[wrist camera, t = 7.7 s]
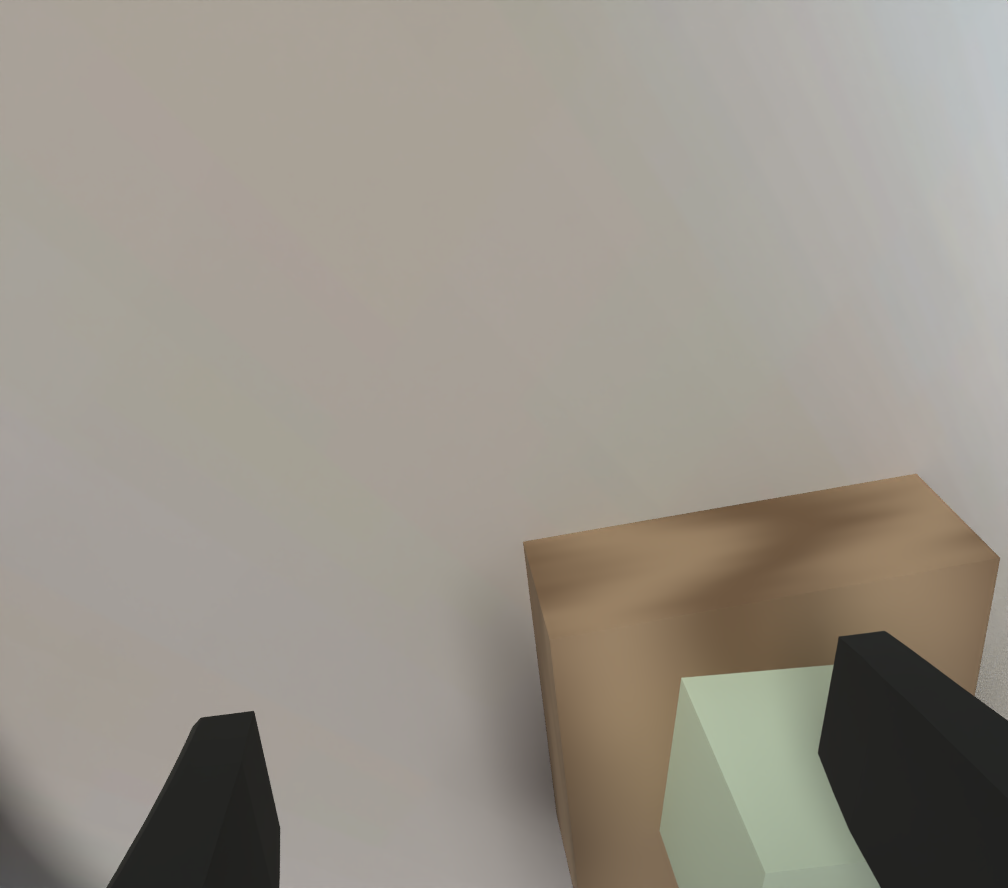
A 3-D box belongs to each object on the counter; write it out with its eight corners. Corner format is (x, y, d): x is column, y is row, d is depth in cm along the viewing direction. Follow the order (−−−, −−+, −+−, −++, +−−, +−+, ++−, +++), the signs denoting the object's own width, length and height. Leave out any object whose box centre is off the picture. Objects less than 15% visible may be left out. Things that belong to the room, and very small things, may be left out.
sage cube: (892, 659, 22) (1025, 843, 18) (850, 810, 24) (957, 1004, 20) (681, 678, 21) (765, 873, 17) (659, 830, 24) (728, 1035, 19)
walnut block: (907, 465, 24) (1000, 557, 21) (874, 742, 29) (945, 854, 26) (520, 532, 24) (549, 639, 20) (554, 804, 29) (582, 927, 25)
